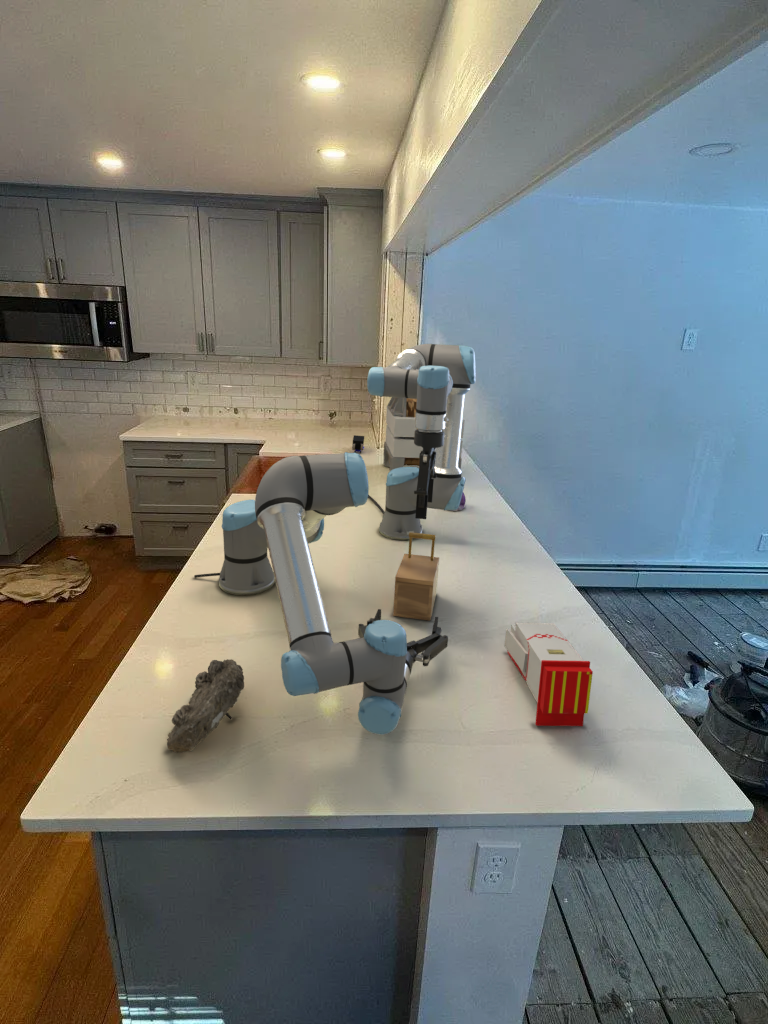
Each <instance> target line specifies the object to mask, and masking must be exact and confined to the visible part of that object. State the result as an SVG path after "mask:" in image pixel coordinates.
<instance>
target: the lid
mask: <svg viewBox="0 0 768 1024" xmlns="http://www.w3.org/2000/svg"><path fill="white" fill-rule="evenodd" d="M436 537H437V535H436V534H431V533H423V532H422V533H413V532H409V540H408V553H404V554H403V556H402V559H401V562H400V564H399V567H398V569H397V572H396V574H395V577H394V578H395V579H394V582H395V581H399V582H407V583H415V584H423V585H431V586H433V585H434V580H435V576H436V572H437V568H438V569H439V566H438V563H439V564H440V557H438V556H434V555H435V554H434V553H435V544H436V543H435V542H436ZM412 538H415V539H421V540H428V541H429V540H430V541H431V547H430V556H429V555H421V554H413V553H412V549H413V539H412Z"/></svg>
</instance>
